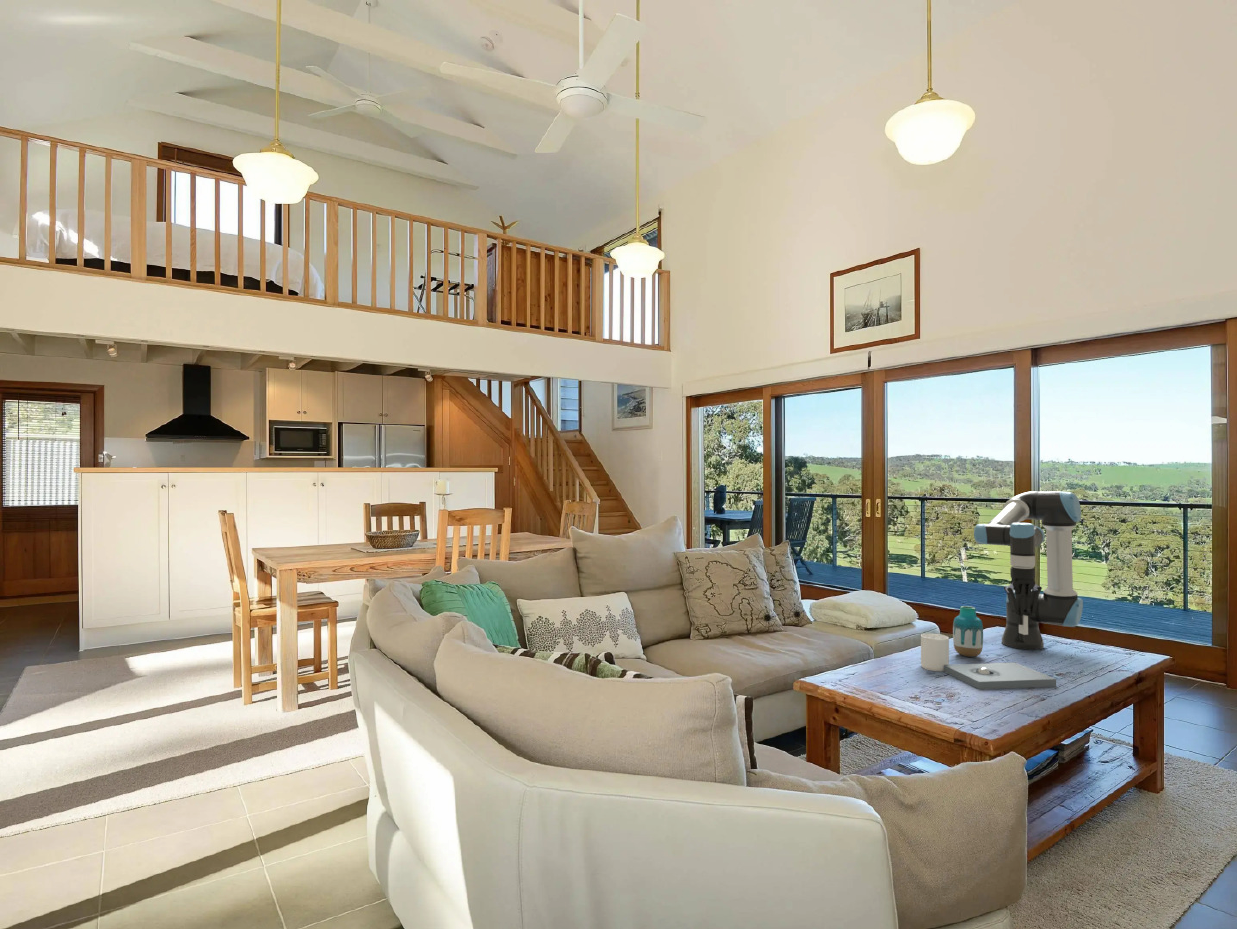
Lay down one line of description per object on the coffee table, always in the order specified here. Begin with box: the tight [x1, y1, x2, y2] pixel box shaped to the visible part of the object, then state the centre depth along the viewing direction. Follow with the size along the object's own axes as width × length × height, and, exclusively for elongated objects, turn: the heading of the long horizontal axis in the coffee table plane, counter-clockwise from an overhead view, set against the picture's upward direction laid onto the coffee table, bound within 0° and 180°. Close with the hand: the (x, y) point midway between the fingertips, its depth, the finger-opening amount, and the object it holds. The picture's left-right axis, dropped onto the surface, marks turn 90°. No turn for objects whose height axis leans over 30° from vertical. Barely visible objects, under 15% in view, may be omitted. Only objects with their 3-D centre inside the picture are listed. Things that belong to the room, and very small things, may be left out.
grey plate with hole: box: [943, 662, 1057, 690], centre depth 239 cm, size 28×20×2 cm
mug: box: [920, 633, 950, 672], centre depth 254 cm, size 10×12×12 cm
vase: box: [952, 605, 984, 658], centre depth 269 cm, size 11×11×19 cm
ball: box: [977, 668, 990, 675], centre depth 239 cm, size 4×4×4 cm
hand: (1023, 633), depth 241 cm, fingers closed
